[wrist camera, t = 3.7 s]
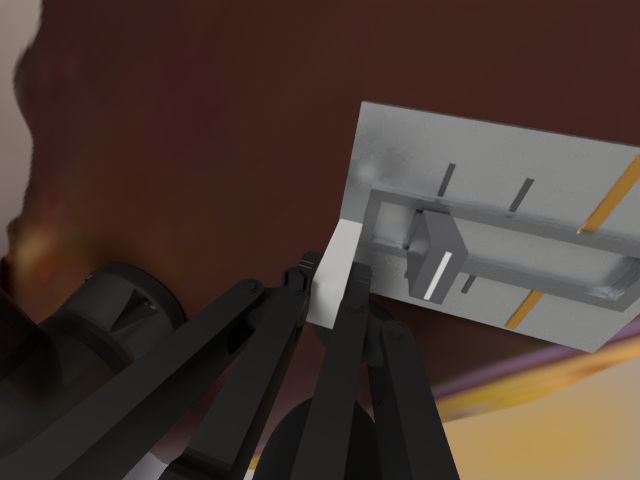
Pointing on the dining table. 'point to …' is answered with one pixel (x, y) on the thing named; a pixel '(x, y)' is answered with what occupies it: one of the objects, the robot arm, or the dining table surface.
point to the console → (503, 219)
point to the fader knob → (433, 255)
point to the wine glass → (286, 437)
